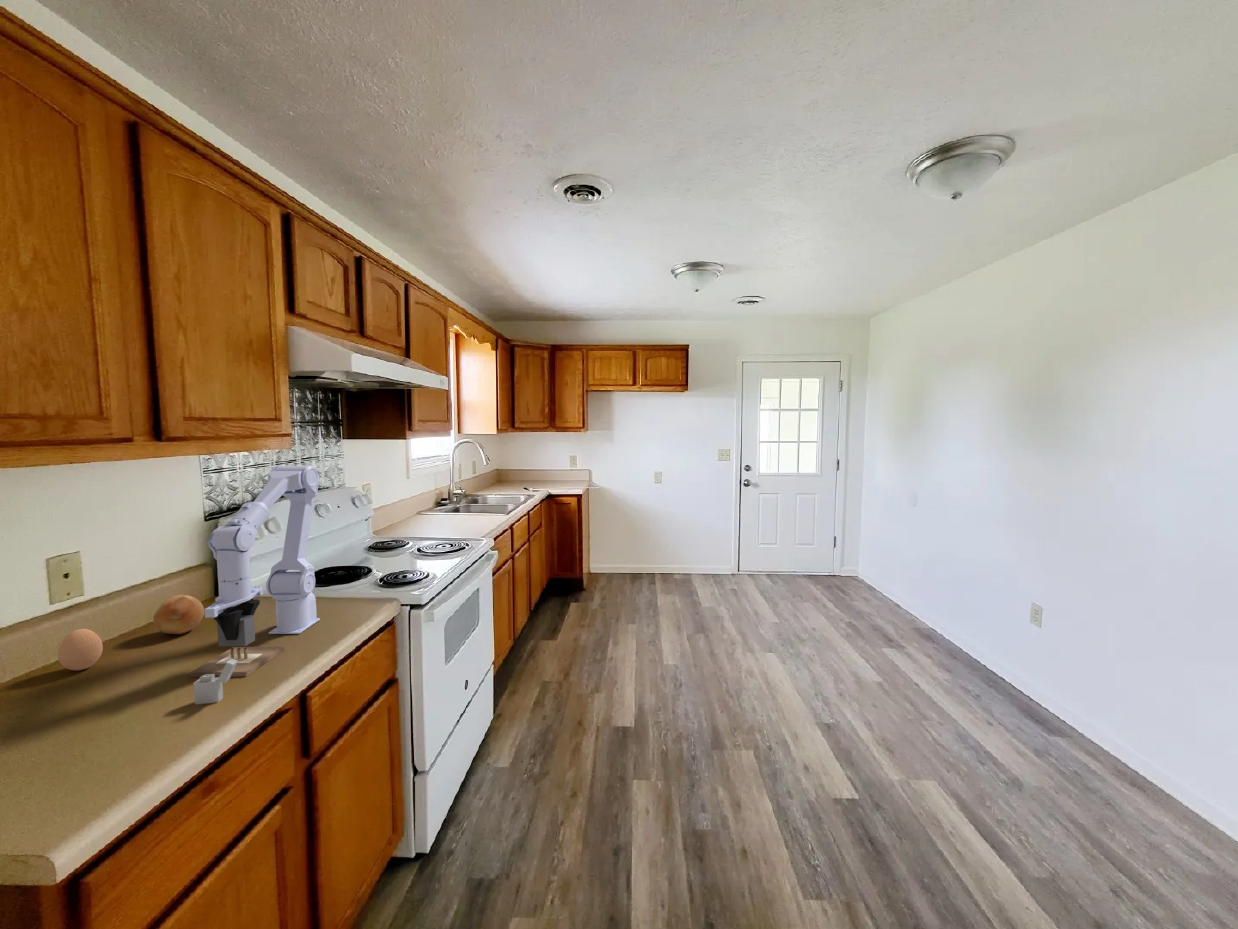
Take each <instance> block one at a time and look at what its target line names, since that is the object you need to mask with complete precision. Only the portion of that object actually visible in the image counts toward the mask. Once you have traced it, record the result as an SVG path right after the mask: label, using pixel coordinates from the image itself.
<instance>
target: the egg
mask: <svg viewBox="0 0 1238 929" xmlns="http://www.w3.org/2000/svg"><path fill="white" fill-rule="evenodd" d="M103 650H104V646H103V641H102V639H101V637H100V636H99V635H98V634H97V633H96V632H94V631H93V630H91V629H87V628H80V629H79V628H78V629H76V630H73V631H71V632H70V633H69V634H67V635H66V636H65V637H64V638H63V640H62V641H61V644H60V645H59V647H58V650H57V659H58V661H59V663H60V665H61V666H62V667H64V668H65V669H67V670H71V671H82V670H85V669H86V670H87V669H88V668H91V666H93V665H94V664H96V662H98V660H99V659H100V658H101V656H102V653H103Z"/></svg>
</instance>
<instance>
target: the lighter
mask: <svg viewBox="0 0 1238 929" xmlns="http://www.w3.org/2000/svg"><path fill="white" fill-rule="evenodd" d="M237 663H238V660H234V659H230V660H229V661H228V662H227V663H226V665H225V667H224V669H223V671H222V673H221V675H220V677H215V674H206V675H203V676H201V677H198V679H197V680H196V681H194V682H193V683H192V684H193V696H194V698H193V699H194V705H195V706H196V705H204V704H214V703H219V702H220V701H222V700H223V699H224V690H223V689H224V687H223V684H225V683H227V682H228V681H229V680H230V678H231V675H232V673H233V671H234V669H235V667H236V665H237Z"/></svg>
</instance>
